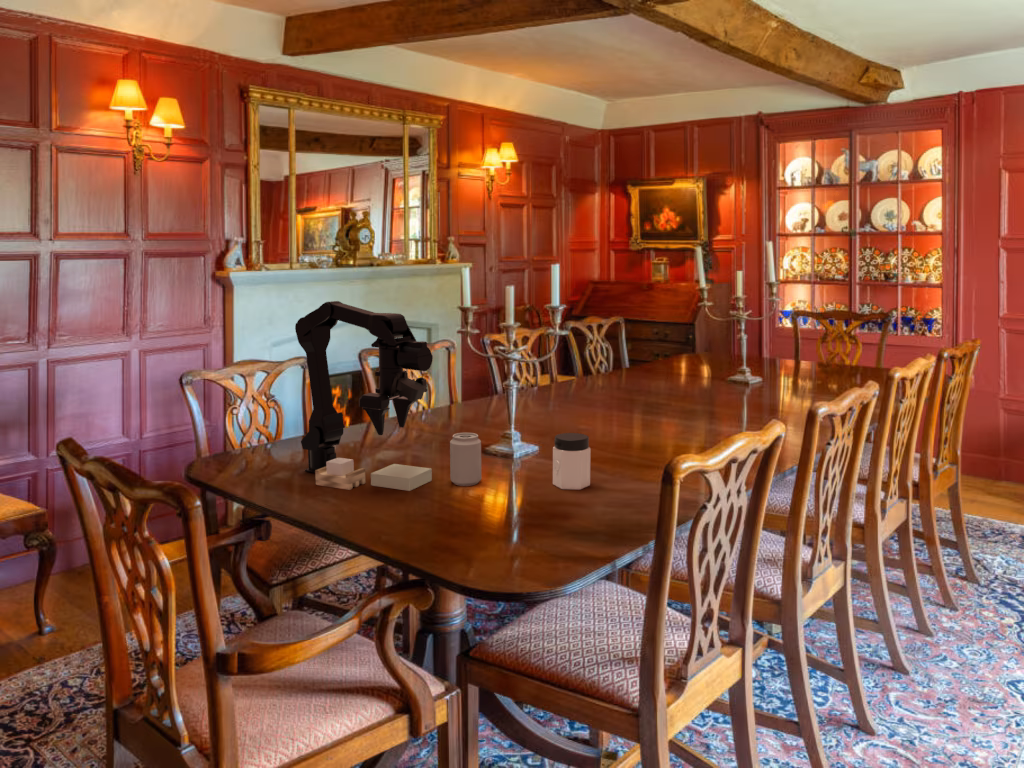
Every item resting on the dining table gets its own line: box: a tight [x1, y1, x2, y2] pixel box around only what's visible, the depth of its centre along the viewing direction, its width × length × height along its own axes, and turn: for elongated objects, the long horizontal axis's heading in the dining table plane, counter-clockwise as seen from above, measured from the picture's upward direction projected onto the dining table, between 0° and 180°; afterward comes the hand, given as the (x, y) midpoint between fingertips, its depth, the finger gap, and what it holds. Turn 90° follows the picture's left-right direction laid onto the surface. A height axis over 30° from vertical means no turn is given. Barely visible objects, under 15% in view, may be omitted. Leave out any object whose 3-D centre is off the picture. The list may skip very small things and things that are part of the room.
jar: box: [552, 432, 591, 491], centre depth 204 cm, size 9×8×12 cm
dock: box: [370, 463, 433, 492], centre depth 207 cm, size 11×10×3 cm
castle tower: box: [314, 467, 366, 491], centre depth 206 cm, size 10×6×4 cm, turn 64°
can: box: [449, 432, 482, 487], centre depth 206 cm, size 8×8×12 cm
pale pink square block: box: [326, 457, 355, 476], centre depth 206 cm, size 5×5×3 cm
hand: (391, 431), depth 205 cm, fingers open, 9 cm apart
